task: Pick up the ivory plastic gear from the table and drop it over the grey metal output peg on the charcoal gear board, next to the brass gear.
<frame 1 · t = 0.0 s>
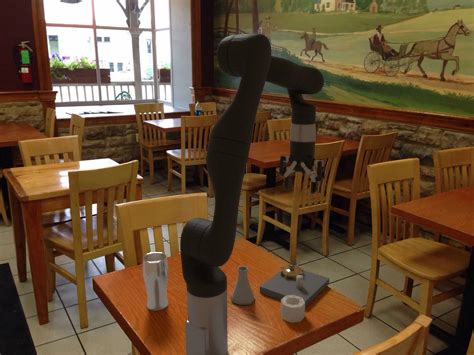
hand: (300, 190, 126), 29 cm above the table, fingers open, 8 cm apart
brass gear: (291, 279, 132), resting on gear board
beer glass: (157, 305, 118), on the table
flask: (242, 299, 121), on the table
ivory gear: (292, 315, 112), on the table
gear board: (295, 288, 126), on the table
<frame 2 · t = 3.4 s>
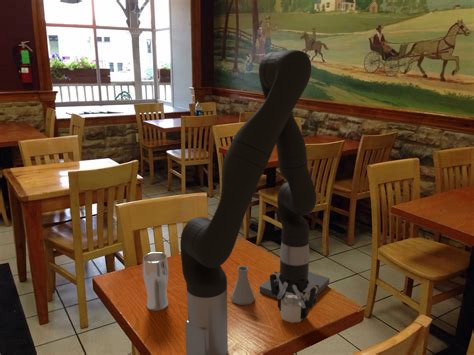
hand: (292, 313, 112), 1 cm above the table, fingers closed on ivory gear, 6 cm apart
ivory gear: (292, 315, 112), on the table, touching gripper
everything else where it was.
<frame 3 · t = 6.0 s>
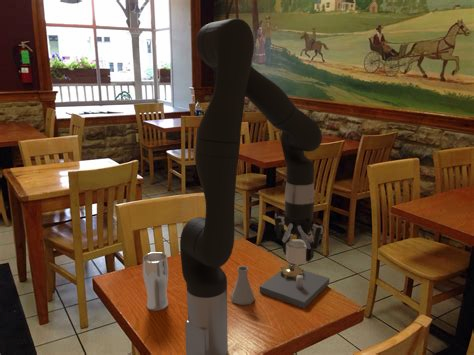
hand: (297, 256, 111), 16 cm above the table, fingers closed on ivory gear, 6 cm apart
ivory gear: (297, 259, 111), point 15 cm above the table, touching gripper
everything else where it was.
when the fingers open (4 cm above the table, at t = 8.8 s): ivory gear stays where it is, resting on gear board.
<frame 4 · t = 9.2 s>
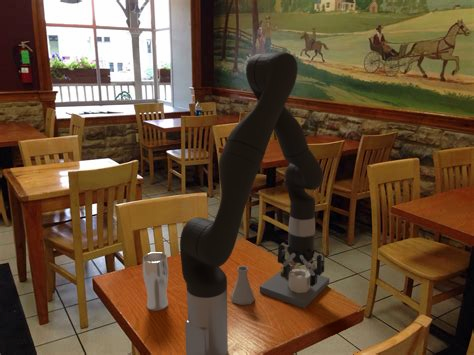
hand: (299, 281, 122), 4 cm above the table, fingers open, 8 cm apart
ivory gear: (299, 287, 123), point 2 cm above the table, touching gear board
everything else where it was.
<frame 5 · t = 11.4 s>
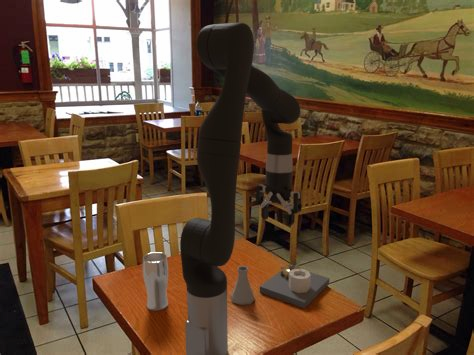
hand: (277, 222, 121), 22 cm above the table, fingers open, 8 cm apart
nothing on the table moved.
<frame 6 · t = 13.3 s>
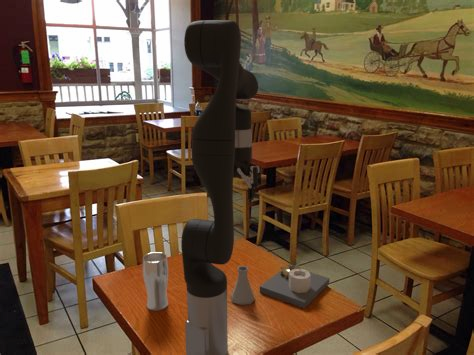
hand: (239, 197, 124), 28 cm above the table, fingers open, 8 cm apart
nothing on the table moved.
at the end: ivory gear 0.1 cm from the target spot on the gear board, point 2.0 cm above the gear board's base; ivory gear tilted 0°; the gripper is holding nothing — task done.
